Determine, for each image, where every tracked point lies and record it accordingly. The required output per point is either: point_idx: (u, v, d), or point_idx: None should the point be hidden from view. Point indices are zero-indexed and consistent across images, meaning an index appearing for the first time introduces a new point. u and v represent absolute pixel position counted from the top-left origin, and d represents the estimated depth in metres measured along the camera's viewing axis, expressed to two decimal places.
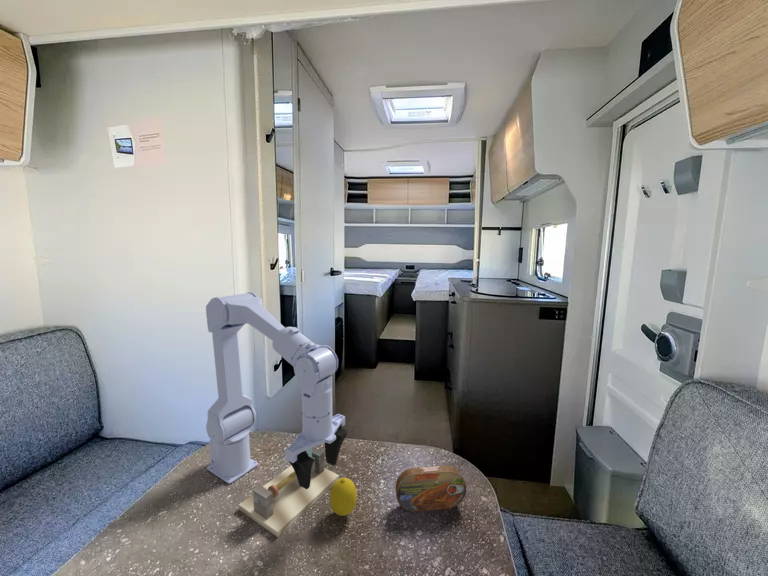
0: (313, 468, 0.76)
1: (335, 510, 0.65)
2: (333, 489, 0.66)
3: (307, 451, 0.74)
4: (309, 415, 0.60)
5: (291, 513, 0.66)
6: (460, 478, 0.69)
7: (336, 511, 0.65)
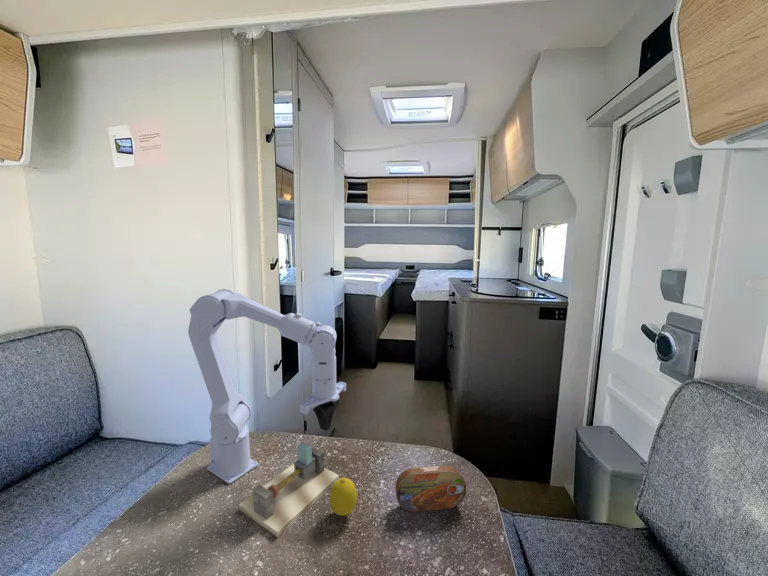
0: (313, 468, 0.76)
1: (335, 510, 0.65)
2: (333, 489, 0.66)
3: (307, 451, 0.74)
4: (325, 378, 0.76)
5: (291, 513, 0.66)
6: (460, 478, 0.69)
7: (336, 511, 0.65)
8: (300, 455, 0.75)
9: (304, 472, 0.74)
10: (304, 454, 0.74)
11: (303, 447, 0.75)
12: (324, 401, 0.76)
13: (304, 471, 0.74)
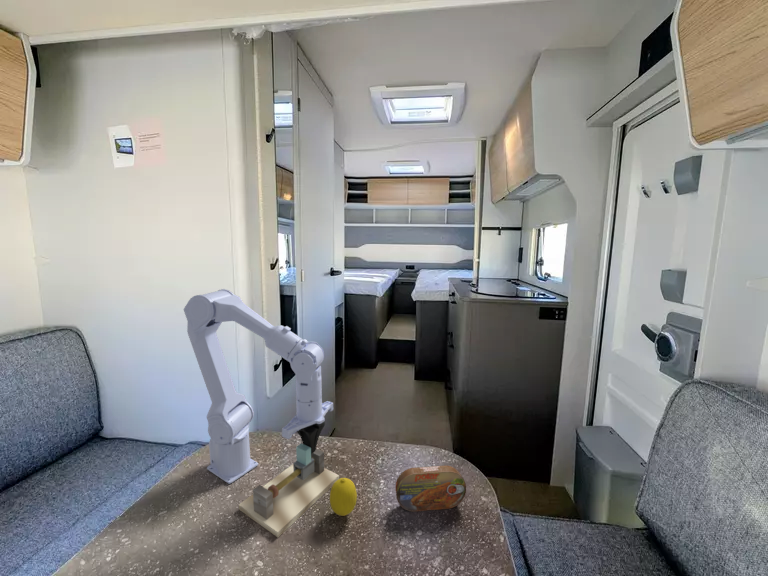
0: (312, 469, 0.76)
1: (335, 510, 0.65)
2: (333, 489, 0.66)
3: (306, 452, 0.74)
4: (307, 400, 0.72)
5: (291, 513, 0.66)
6: (460, 478, 0.69)
7: (336, 511, 0.65)
8: (299, 456, 0.75)
9: (303, 473, 0.73)
10: (303, 454, 0.74)
11: (302, 448, 0.74)
12: (308, 424, 0.72)
13: (303, 472, 0.73)
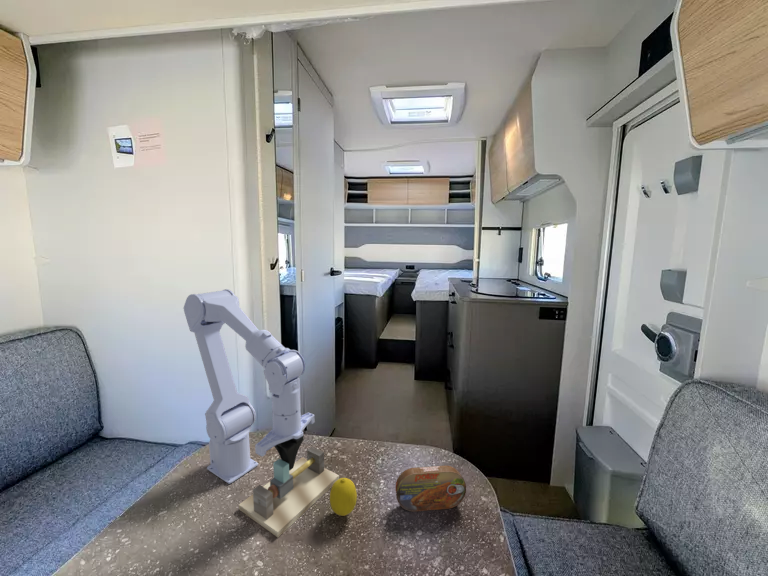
0: (291, 486, 0.70)
1: (335, 510, 0.65)
2: (333, 489, 0.66)
3: (284, 468, 0.68)
4: (278, 413, 0.66)
5: (291, 513, 0.66)
6: (460, 478, 0.69)
7: (336, 511, 0.65)
8: (276, 472, 0.69)
9: (280, 491, 0.68)
10: (280, 471, 0.68)
11: (280, 464, 0.69)
12: (285, 439, 0.67)
13: (280, 490, 0.68)
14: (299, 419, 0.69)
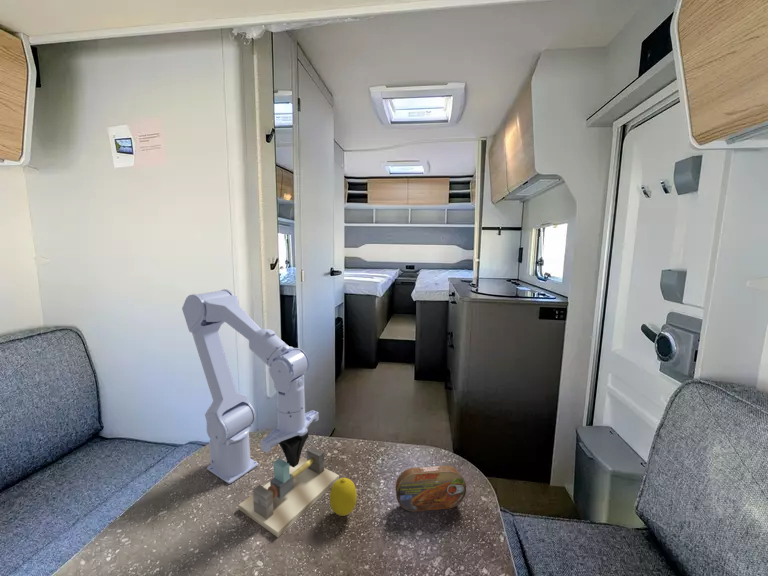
0: (291, 486, 0.70)
1: (335, 510, 0.65)
2: (333, 489, 0.66)
3: (284, 468, 0.68)
4: (284, 411, 0.67)
5: (291, 513, 0.66)
6: (460, 478, 0.69)
7: (336, 511, 0.65)
8: (277, 472, 0.69)
9: (281, 491, 0.68)
10: (281, 471, 0.68)
11: (280, 464, 0.69)
12: (289, 436, 0.68)
13: (281, 490, 0.68)
14: (303, 416, 0.70)
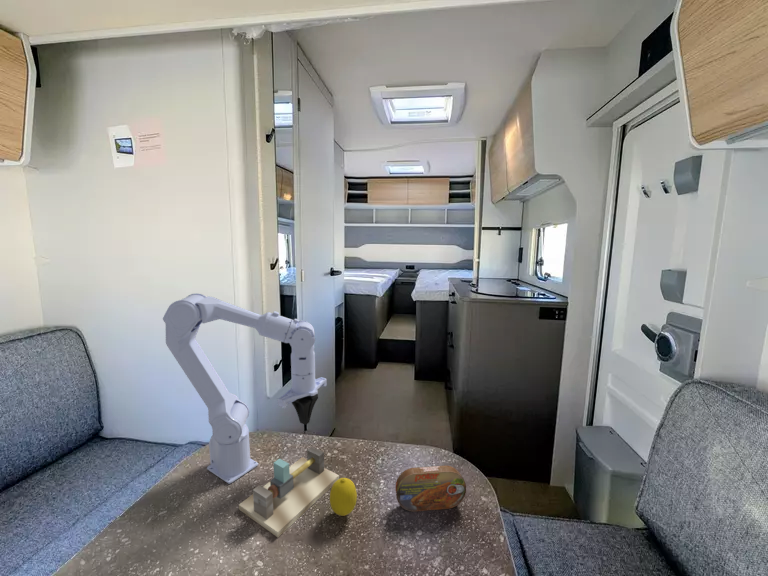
0: (291, 486, 0.70)
1: (335, 510, 0.65)
2: (333, 489, 0.66)
3: (284, 468, 0.68)
4: (305, 373, 0.78)
5: (291, 513, 0.66)
6: (460, 478, 0.69)
7: (336, 511, 0.65)
8: (277, 472, 0.69)
9: (281, 491, 0.68)
10: (281, 471, 0.68)
11: (280, 464, 0.69)
12: (302, 395, 0.78)
13: (281, 490, 0.68)
14: (314, 380, 0.81)
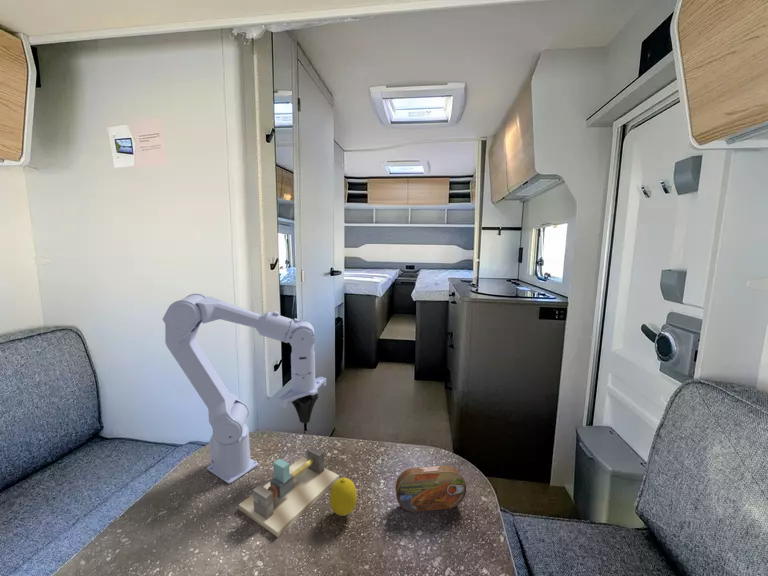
0: (291, 486, 0.70)
1: (335, 510, 0.65)
2: (333, 489, 0.66)
3: (284, 468, 0.68)
4: (305, 373, 0.78)
5: (291, 513, 0.66)
6: (460, 478, 0.69)
7: (336, 511, 0.65)
8: (277, 472, 0.69)
9: (281, 491, 0.68)
10: (281, 471, 0.68)
11: (280, 464, 0.69)
12: (302, 395, 0.78)
13: (281, 490, 0.68)
14: (314, 379, 0.81)
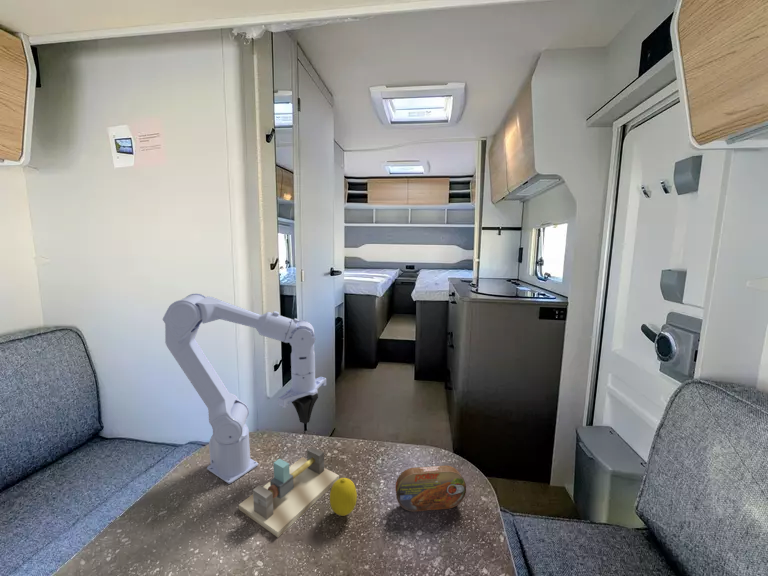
0: (291, 486, 0.70)
1: (335, 510, 0.65)
2: (333, 489, 0.66)
3: (284, 468, 0.68)
4: (305, 373, 0.78)
5: (291, 513, 0.66)
6: (460, 478, 0.70)
7: (336, 511, 0.65)
8: (277, 472, 0.69)
9: (281, 491, 0.68)
10: (281, 471, 0.68)
11: (280, 464, 0.69)
12: (302, 395, 0.78)
13: (281, 490, 0.68)
14: (314, 379, 0.81)
